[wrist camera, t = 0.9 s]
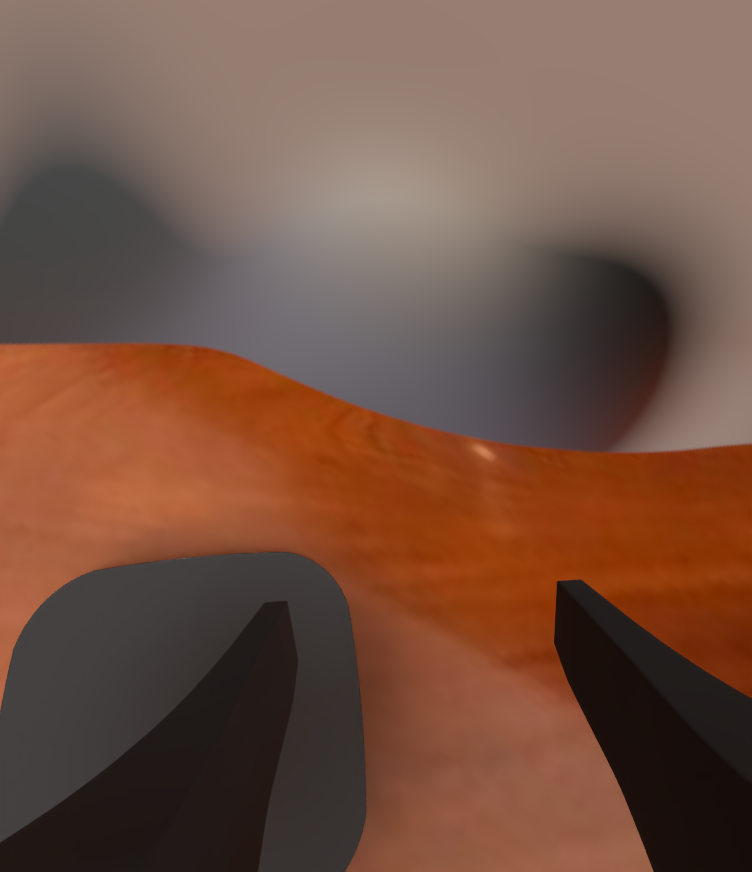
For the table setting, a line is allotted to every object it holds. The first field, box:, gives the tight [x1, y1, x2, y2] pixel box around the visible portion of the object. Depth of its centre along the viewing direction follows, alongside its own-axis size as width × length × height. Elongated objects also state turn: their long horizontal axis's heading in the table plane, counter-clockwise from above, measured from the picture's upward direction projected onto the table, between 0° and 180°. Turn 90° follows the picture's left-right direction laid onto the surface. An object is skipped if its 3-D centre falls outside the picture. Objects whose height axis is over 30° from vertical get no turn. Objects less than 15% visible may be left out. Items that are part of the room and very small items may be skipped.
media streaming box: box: [0, 552, 366, 872], centre depth 21 cm, size 15×15×3 cm
